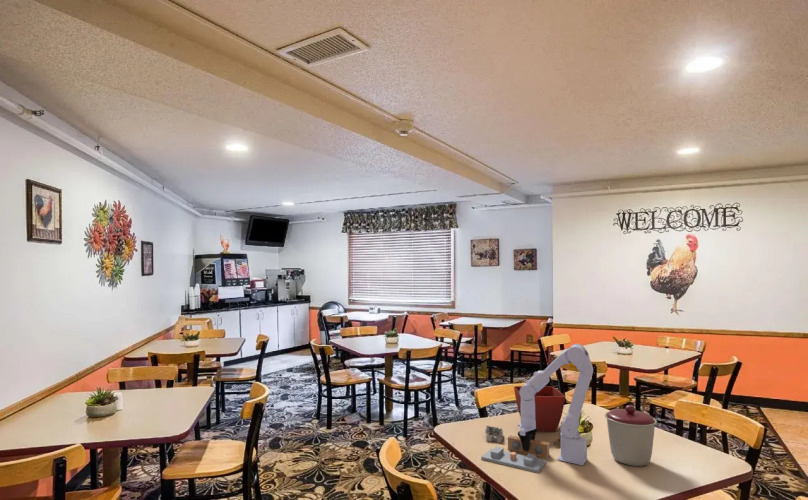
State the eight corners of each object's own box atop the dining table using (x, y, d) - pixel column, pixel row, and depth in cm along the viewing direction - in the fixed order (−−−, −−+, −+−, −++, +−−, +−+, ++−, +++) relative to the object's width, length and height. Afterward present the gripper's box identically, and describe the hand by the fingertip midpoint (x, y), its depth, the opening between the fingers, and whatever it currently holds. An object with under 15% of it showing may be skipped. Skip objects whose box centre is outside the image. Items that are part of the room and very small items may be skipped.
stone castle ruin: (502, 443, 198) (502, 433, 198) (484, 441, 200) (484, 432, 200) (503, 434, 209) (503, 425, 209) (486, 433, 211) (486, 423, 211)
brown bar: (549, 455, 185) (549, 442, 186) (547, 458, 183) (547, 445, 183) (510, 447, 194) (510, 435, 194) (507, 450, 191) (507, 437, 191)
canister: (664, 461, 179) (663, 405, 180) (647, 475, 167) (646, 415, 168) (616, 448, 193) (616, 396, 194) (597, 460, 180) (596, 405, 181)
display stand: (545, 463, 177) (545, 455, 178) (538, 472, 169) (538, 464, 169) (491, 450, 189) (491, 443, 189) (481, 459, 181) (481, 451, 181)
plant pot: (513, 420, 227) (513, 385, 228) (552, 420, 227) (552, 385, 228) (523, 434, 208) (523, 396, 209) (566, 434, 208) (565, 396, 209)
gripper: (523, 408, 197) (524, 440, 196) (512, 417, 185) (512, 452, 184) (540, 411, 193) (540, 444, 193) (529, 420, 181) (530, 456, 180)
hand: (528, 448), depth 188 cm, fingers open, 5 cm apart
